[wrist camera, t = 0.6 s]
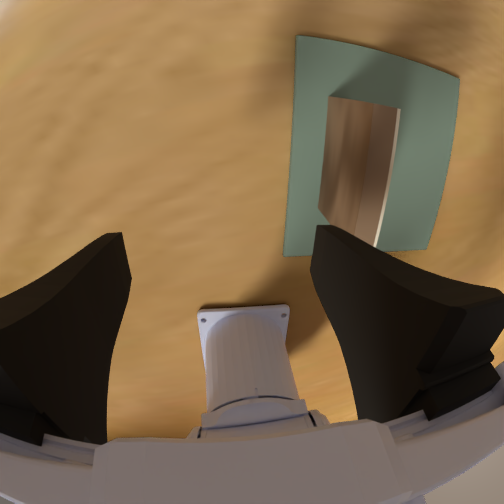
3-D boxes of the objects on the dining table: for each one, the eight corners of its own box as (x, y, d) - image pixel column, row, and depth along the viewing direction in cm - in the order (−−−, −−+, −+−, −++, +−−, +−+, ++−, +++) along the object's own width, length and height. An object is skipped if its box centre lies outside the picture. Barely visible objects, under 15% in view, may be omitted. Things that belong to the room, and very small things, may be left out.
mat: (424, 247, 25) (426, 249, 24) (282, 254, 23) (283, 256, 23) (456, 78, 16) (459, 78, 16) (295, 36, 15) (297, 35, 14)
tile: (337, 208, 21) (375, 250, 16) (317, 208, 21) (350, 251, 16) (350, 99, 17) (400, 109, 12) (328, 96, 17) (373, 103, 12)
